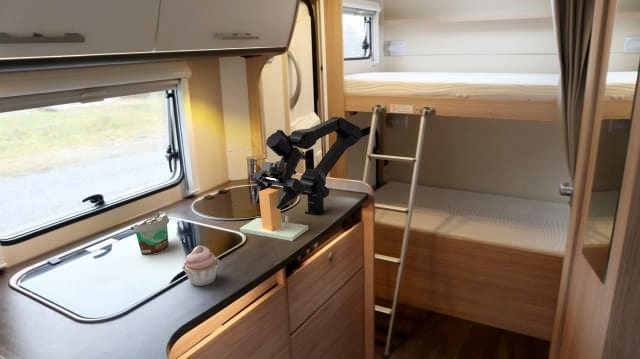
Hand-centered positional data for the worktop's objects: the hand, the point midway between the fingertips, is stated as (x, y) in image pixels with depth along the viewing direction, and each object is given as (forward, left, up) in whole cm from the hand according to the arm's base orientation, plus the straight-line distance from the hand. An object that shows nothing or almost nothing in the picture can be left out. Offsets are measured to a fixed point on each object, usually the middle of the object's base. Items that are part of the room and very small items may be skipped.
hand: (266, 205), depth 143 cm
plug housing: (-1, 0, -8) cm, 8 cm away
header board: (-2, 0, -9) cm, 10 cm away
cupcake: (+33, +1, -9) cm, 34 cm away
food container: (+23, -25, -9) cm, 35 cm away
